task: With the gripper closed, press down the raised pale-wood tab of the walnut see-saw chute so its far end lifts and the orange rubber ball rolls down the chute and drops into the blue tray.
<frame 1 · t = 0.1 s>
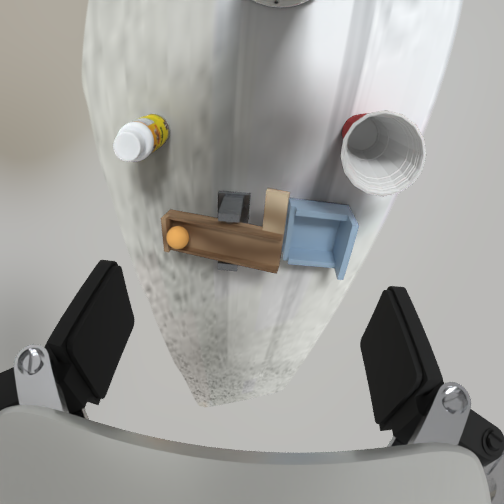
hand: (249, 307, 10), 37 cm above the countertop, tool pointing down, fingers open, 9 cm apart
blue tray: (314, 228, 50), on the countertop
ball: (177, 237, 45), point 7 cm above the countertop, tilted 16°, touching lever
supplement bottle: (154, 129, 42), on the countertop
lever: (220, 225, 43), point 7 cm above the countertop, hinge at 12.0°, touching ball
plastic cup: (358, 133, 40), on the countertop
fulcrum: (233, 220, 50), on the countertop
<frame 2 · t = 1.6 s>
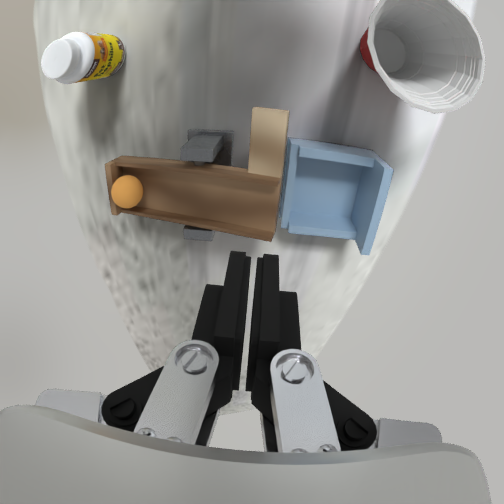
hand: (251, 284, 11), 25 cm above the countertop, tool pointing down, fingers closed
blue tray: (325, 183, 34), on the countertop
ball: (127, 191, 29), point 7 cm above the countertop, tilted 16°, touching lever
supplement bottle: (108, 56, 26), on the countertop
lever: (185, 168, 27), point 7 cm above the countertop, hinge at 12.0°, touching ball
plastic cup: (382, 52, 25), on the countertop
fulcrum: (210, 172, 34), on the countertop
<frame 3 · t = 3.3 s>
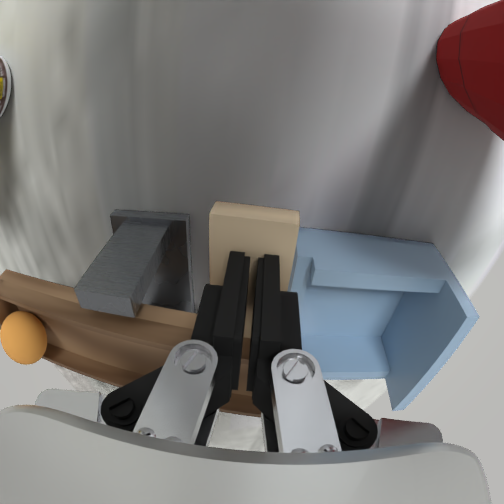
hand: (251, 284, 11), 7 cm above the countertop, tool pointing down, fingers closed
blue tray: (349, 294, 21), on the countertop
ball: (23, 337, 14), point 8 cm above the countertop, tilted 7°, touching lever
lever: (95, 319, 13), point 7 cm above the countertop, hinge at 3.5°, touching ball, gripper
plastic cup: (469, 68, 11), on the countertop
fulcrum: (158, 277, 21), on the countertop
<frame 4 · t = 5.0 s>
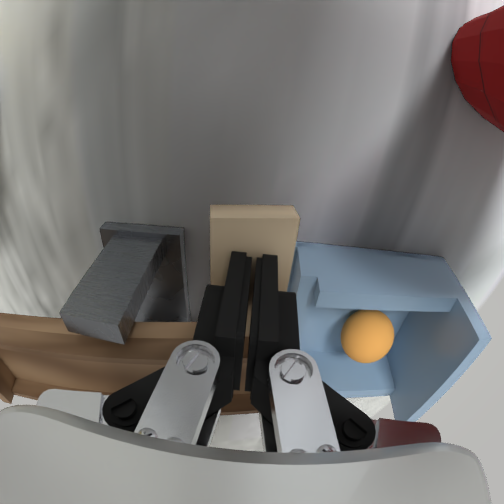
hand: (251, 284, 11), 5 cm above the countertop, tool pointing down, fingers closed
blue tray: (354, 310, 19), on the countertop
ball: (367, 336, 17), point 2 cm above the countertop, tilted 48°, touching blue tray
lever: (87, 347, 12), point 7 cm above the countertop, hinge at -10.7°, touching gripper
plastic cup: (485, 71, 10), on the countertop
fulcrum: (152, 292, 19), on the countertop
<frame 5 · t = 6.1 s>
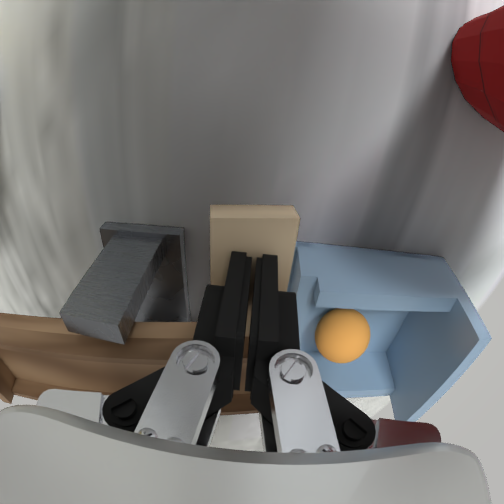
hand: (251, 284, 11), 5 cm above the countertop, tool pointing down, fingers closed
blue tray: (354, 310, 19), on the countertop
ball: (342, 335, 17), point 2 cm above the countertop, tilted 8°, touching blue tray
lever: (87, 347, 12), point 7 cm above the countertop, hinge at -10.7°, touching gripper
plastic cup: (485, 71, 10), on the countertop
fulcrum: (152, 292, 19), on the countertop
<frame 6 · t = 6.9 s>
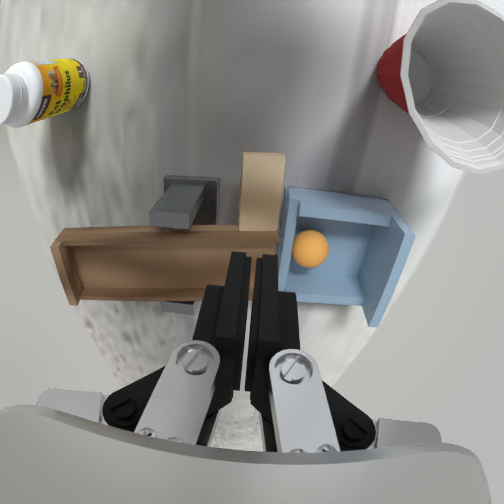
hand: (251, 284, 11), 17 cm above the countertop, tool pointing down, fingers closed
blue tray: (329, 239, 29), on the countertop
ball: (310, 248, 27), point 2 cm above the countertop, tilted 42°, touching blue tray
supplement bottle: (71, 84, 22), on the countertop
lever: (160, 238, 22), point 7 cm above the countertop, hinge at -10.7°
plastic cup: (403, 77, 20), on the countertop
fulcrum: (192, 226, 29), on the countertop
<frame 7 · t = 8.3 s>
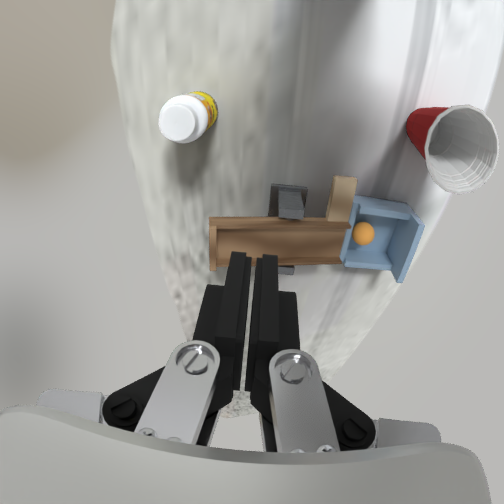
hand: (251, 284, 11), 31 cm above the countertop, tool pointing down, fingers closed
blue tray: (370, 227, 44), on the countertop
ball: (363, 233, 42), point 2 cm above the countertop, tilted 31°, touching blue tray
supplement bottle: (198, 110, 36), on the countertop
lever: (283, 224, 37), point 7 cm above the countertop, hinge at -10.7°
plastic cup: (421, 128, 35), on the countertop
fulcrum: (284, 217, 44), on the countertop
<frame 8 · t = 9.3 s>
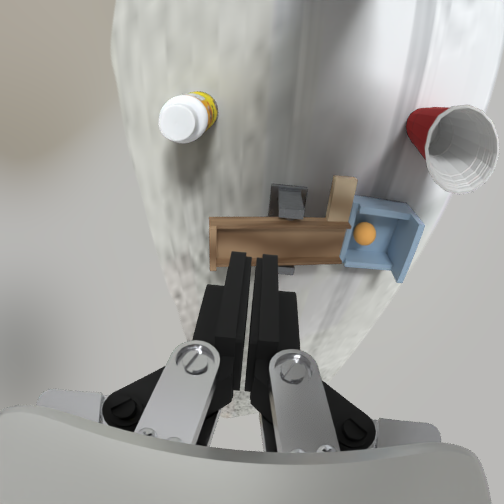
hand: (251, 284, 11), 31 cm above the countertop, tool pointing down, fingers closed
blue tray: (370, 227, 44), on the countertop
ball: (364, 233, 42), point 2 cm above the countertop, tilted 23°, touching blue tray
supplement bottle: (198, 110, 36), on the countertop
lever: (283, 224, 37), point 7 cm above the countertop, hinge at -10.7°
plastic cup: (421, 128, 35), on the countertop
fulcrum: (285, 217, 44), on the countertop
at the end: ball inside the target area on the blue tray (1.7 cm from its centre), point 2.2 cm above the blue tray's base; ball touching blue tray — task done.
